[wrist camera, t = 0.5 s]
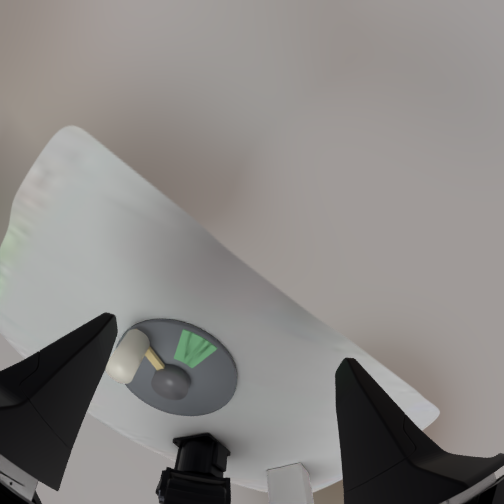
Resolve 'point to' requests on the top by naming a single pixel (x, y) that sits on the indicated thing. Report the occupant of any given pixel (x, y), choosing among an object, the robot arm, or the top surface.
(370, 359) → the top surface
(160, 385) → the peg
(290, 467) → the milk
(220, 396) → the grey round disc
